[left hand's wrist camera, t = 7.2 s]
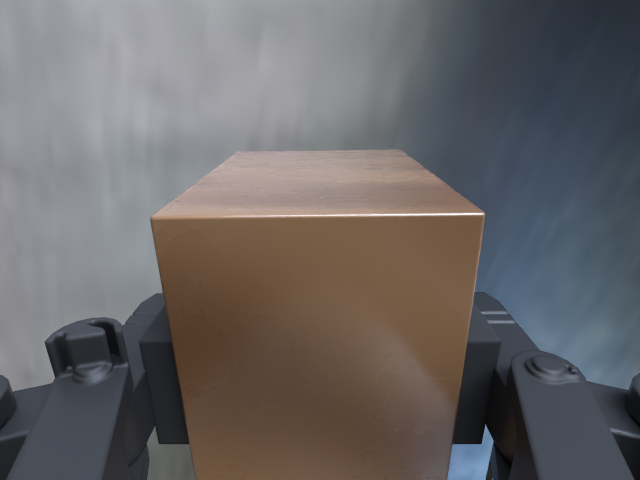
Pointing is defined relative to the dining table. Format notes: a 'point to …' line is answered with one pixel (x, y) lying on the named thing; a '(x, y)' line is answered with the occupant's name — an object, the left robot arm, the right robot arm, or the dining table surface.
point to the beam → (319, 314)
